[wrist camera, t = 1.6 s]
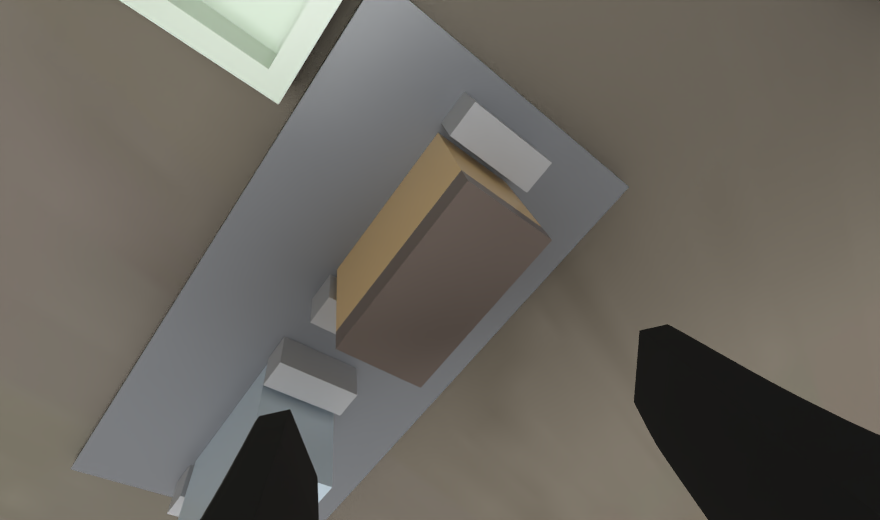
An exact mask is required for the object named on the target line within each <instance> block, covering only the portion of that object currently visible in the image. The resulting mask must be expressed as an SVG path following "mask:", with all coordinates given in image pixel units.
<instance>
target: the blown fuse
mask: <svg viewBox="0 0 880 520" xmlns="http://www.w3.org/2000/svg"><path fill="white" fill-rule="evenodd" d="M551 241H552V239H551V238H550V237H549V236H548V234H547V233H546V232H545V231H544V229H543V228H542V227H541V226H540V224H539V223H538V222H537V221H536V219H535V218H534V217H533V216H532V214H531V213H530V212H529V211H528V209H527V208H526V207H525V206H524V204H523V203H522V202H521V201H520V200H519V198H518V197H517V196H516V195H515V193H514V192H513V191H512V190H511V188H510V187H509V186H508V185H507V183H506V182H505V181H503V180H502V179H501V178H499V177H498V176H496V175H495V174H494V173H492V172H491V171H490V170H488V169H487V168H486V167H484V166H483V165H481V164H480V163H479V162H477V161H476V160H475V159H473V158H472V157H471V156H469V155H468V154H466V153H465V152H464V151H462V150H461V149H460V148H458V147H457V146H456V145H454V144H453V143H452V142H450V141H449V140H447V139H446V138H445V137H443V136H442V135H441V134H439V133H437V135H436V136H435V137H434V139H433V140H432V142H431V143H430V144H429V146H428V147H427V148H426V150H425V151H424V152H423V154H422V155H421V156H420V158H419V159H418V160H417V162H416V163H415V165H414V166H413V167H412V169H411V170H410V171H409V173H408V174H407V175H406V177H405V178H404V179H403V181H402V182H401V184H400V185H399V186H398V188H397V189H396V190H395V192H394V193H393V194H392V196H391V197H390V198H389V200H388V201H387V202H386V204H385V205H384V207H383V208H382V209H381V211H380V212H379V213H378V215H377V216H376V217H375V219H374V220H373V221H372V223H371V224H370V226H369V227H368V228H367V230H366V231H365V232H364V234H363V235H362V236H361V238H360V239H359V240H358V242H357V243H356V245H355V246H354V247H353V249H352V250H351V251H350V253H349V254H348V255H347V257H346V258H345V259H344V261H343V262H342V263H341V265H340V266H339V268H338V269H337V302H336V349H337V350H339V351H341V352H343V353H346V354H348V355H350V356H352V357H354V358H356V359H359V360H361V361H363V362H365V363H367V364H370V365H372V366H374V367H376V368H378V369H380V370H383V371H385V372H387V373H389V374H391V375H393V376H396V377H398V378H400V379H402V380H404V381H407V382H409V383H411V384H413V385H415V386H417V387H420V388H421V387H422V386H423V385H424V384H425V383H426V381H427V380H428V379H429V378H430V377H431V376H432V375H433V374H434V372H435V371H436V370H437V369H438V368H439V367H440V366H441V365H442V363H443V362H444V361H445V360H446V359H447V358H448V357H449V356H450V354H451V353H452V352H453V351H454V350H455V349H456V348H457V347H458V345H459V344H460V343H461V342H462V341H463V340H464V339H465V338H466V336H467V335H468V334H469V333H470V332H471V331H472V330H473V329H474V327H475V326H476V325H477V324H478V323H479V322H480V321H481V320H482V318H483V317H484V316H485V315H486V314H487V313H488V312H489V311H490V309H491V308H492V307H493V306H494V305H495V304H496V303H497V302H498V300H499V299H500V298H501V297H502V296H503V295H504V294H505V293H506V291H507V290H508V289H509V288H510V287H511V286H512V285H513V284H514V282H515V281H516V280H517V279H518V278H519V277H520V276H521V275H522V273H523V272H524V271H525V270H526V269H527V268H528V267H529V266H530V264H531V263H532V262H533V261H534V260H535V259H536V258H537V257H538V255H539V254H540V253H541V252H542V251H543V250H544V249H545V248H546V246H547V245H548V244H549V243H550V242H551Z"/></svg>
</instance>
